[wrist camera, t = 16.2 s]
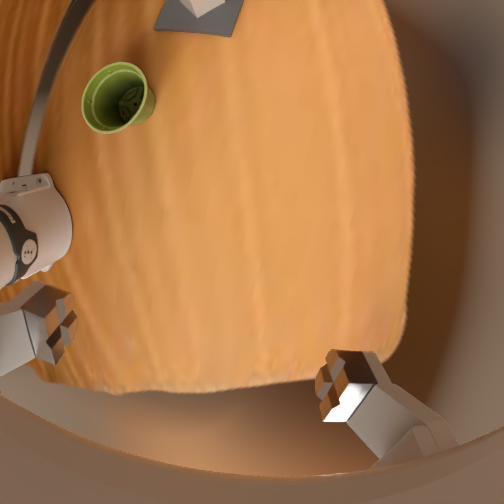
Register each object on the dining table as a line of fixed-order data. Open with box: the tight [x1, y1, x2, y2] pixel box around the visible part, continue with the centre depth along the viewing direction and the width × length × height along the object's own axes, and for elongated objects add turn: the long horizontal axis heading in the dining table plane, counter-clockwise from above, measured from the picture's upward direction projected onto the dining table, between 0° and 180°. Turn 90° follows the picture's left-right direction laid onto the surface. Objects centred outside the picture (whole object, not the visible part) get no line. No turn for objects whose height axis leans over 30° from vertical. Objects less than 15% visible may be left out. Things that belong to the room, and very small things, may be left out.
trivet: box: [154, 0, 244, 37], centre depth 29 cm, size 12×12×1 cm
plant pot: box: [82, 62, 156, 134], centre depth 31 cm, size 9×9×9 cm
